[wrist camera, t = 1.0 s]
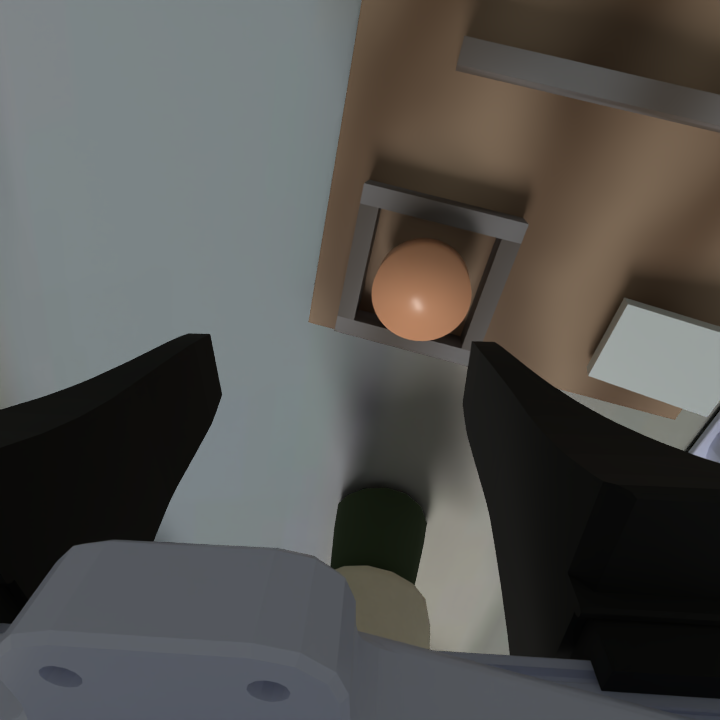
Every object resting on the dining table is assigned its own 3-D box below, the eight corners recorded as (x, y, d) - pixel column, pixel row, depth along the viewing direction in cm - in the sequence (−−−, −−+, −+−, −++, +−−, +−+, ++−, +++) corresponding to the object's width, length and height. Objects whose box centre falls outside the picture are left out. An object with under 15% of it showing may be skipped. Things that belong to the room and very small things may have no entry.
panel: (999, -115, 14) (1186, -196, 10) (657, 397, 24) (694, 445, 20) (412, -235, 15) (403, -347, 11) (318, 308, 24) (297, 338, 21)
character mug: (293, 488, 31) (208, 693, 20) (362, 438, 28) (308, 647, 17) (398, 574, 34) (375, 800, 22) (472, 537, 31) (489, 778, 19)
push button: (483, 251, 18) (486, 260, 17) (452, 336, 20) (453, 351, 19) (388, 227, 18) (384, 235, 17) (367, 314, 20) (362, 327, 19)
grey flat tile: (751, 336, 18) (761, 345, 17) (700, 406, 20) (707, 417, 19) (624, 297, 19) (627, 304, 18) (586, 366, 21) (588, 375, 20)
